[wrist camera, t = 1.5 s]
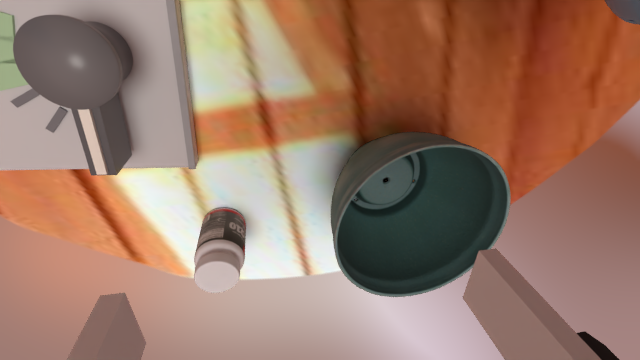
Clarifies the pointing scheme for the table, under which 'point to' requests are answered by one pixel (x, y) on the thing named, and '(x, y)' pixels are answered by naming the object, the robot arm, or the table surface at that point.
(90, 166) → the tuner knob
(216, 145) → the table surface
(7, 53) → the green curved panel
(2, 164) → the tuner board
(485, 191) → the flower pot
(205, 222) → the pill bottle
